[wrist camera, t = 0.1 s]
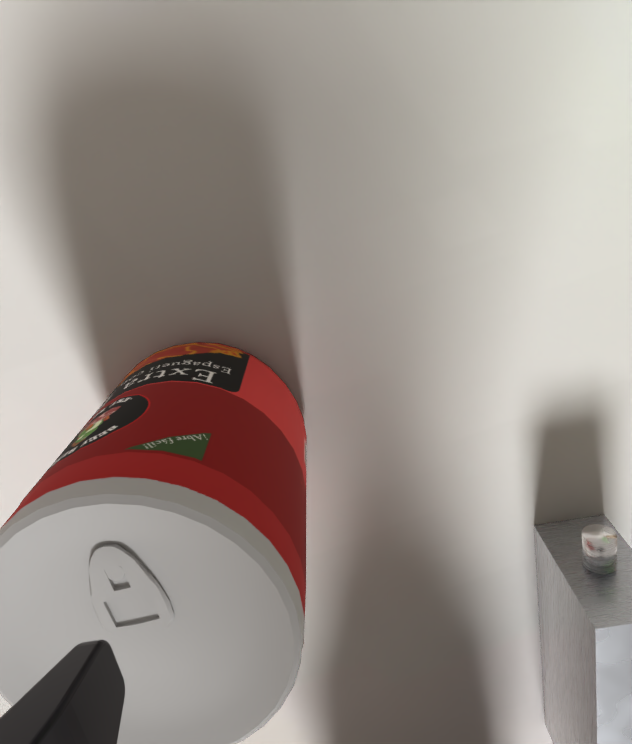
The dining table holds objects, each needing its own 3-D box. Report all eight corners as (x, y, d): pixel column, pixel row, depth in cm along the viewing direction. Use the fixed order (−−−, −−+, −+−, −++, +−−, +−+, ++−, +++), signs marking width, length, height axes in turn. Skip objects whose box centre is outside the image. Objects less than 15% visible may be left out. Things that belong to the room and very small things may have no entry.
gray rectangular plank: (604, 713, 30) (673, 845, 24) (544, 721, 30) (598, 854, 24) (602, 485, 25) (687, 582, 19) (531, 496, 25) (595, 596, 19)
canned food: (239, 298, 22) (176, 431, 12) (343, 464, 24) (367, 694, 14) (73, 394, 23) (-118, 590, 13) (188, 541, 26) (106, 805, 15)
